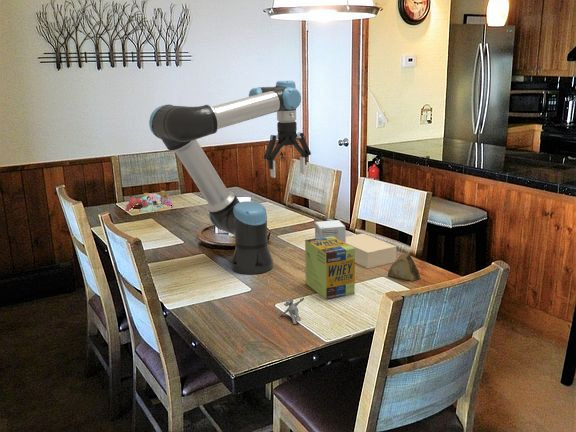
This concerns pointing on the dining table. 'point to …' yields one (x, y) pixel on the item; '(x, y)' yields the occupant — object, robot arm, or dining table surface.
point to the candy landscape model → (149, 202)
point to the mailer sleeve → (371, 250)
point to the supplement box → (330, 230)
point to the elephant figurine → (292, 309)
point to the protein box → (330, 267)
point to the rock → (404, 268)
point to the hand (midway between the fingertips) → (288, 175)
